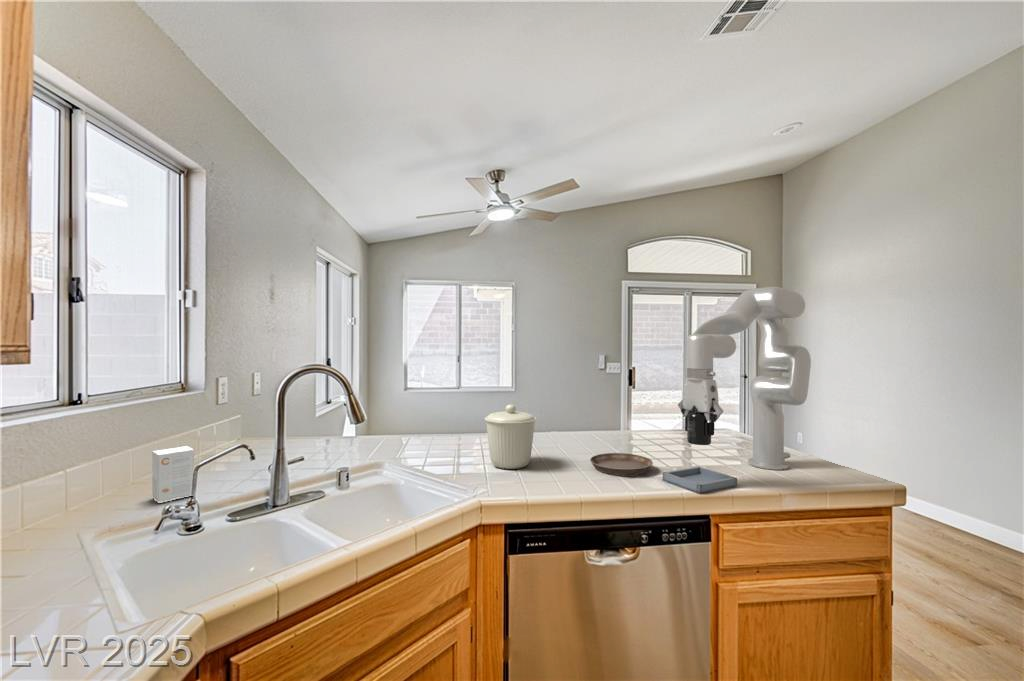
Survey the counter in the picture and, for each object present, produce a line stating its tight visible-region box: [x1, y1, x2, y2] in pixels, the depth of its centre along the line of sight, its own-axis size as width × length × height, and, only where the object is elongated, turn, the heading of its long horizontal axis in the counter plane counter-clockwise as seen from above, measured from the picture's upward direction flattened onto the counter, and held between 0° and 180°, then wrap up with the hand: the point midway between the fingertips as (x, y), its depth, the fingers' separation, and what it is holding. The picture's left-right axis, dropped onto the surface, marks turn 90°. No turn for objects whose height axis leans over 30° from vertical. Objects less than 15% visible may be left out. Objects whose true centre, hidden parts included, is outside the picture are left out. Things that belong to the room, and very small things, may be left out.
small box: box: [151, 445, 195, 501], centre depth 123 cm, size 8×6×13 cm
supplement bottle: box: [686, 406, 712, 446], centre depth 139 cm, size 7×7×12 cm
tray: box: [662, 466, 738, 495], centre depth 139 cm, size 16×14×2 cm
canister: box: [484, 404, 538, 470], centre depth 158 cm, size 18×18×21 cm
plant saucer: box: [589, 452, 654, 476], centre depth 155 cm, size 21×21×3 cm
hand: (699, 432), depth 139 cm, fingers closed on supplement bottle, 6 cm apart
